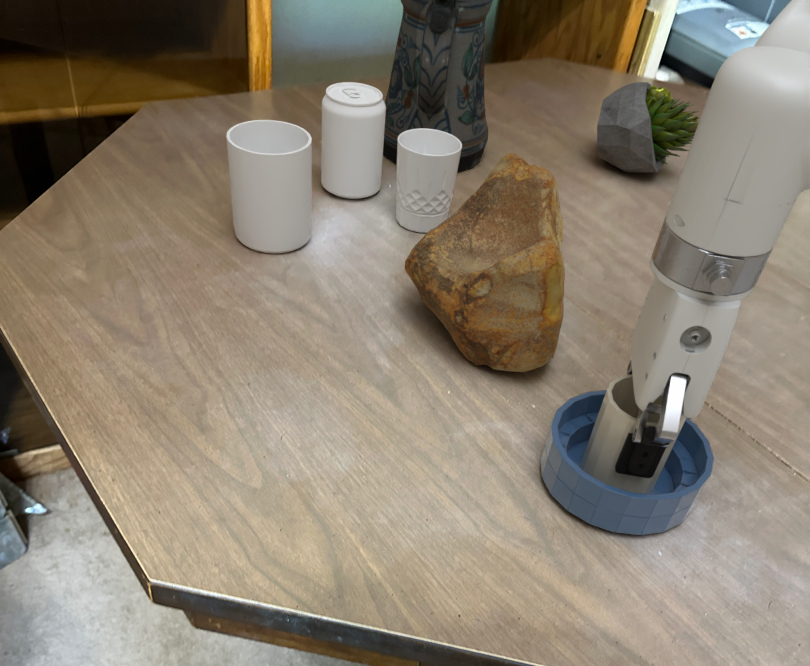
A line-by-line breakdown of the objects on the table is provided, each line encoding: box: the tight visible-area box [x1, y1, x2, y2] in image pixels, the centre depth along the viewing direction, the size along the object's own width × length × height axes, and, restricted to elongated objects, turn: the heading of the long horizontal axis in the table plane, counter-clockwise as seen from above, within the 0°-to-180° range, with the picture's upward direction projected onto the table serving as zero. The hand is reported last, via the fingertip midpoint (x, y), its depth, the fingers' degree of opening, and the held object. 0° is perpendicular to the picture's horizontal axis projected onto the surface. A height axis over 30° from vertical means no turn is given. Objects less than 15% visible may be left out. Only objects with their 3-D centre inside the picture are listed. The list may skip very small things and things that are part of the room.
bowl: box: [539, 389, 715, 536], centre depth 69 cm, size 14×14×5 cm
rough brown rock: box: [404, 152, 566, 373], centre depth 81 cm, size 23×17×15 cm
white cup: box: [395, 128, 462, 234], centre depth 97 cm, size 8×8×10 cm
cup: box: [580, 374, 686, 494], centre depth 67 cm, size 7×7×9 cm
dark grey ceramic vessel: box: [383, 0, 494, 174], centre depth 105 cm, size 16×19×25 cm
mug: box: [225, 119, 313, 254], centre depth 91 cm, size 10×12×12 cm
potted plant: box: [596, 81, 700, 173], centre depth 114 cm, size 12×13×15 cm
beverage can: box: [320, 81, 386, 200], centre depth 101 cm, size 8×8×12 cm
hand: (631, 442), depth 68 cm, fingers closed on cup, 6 cm apart
